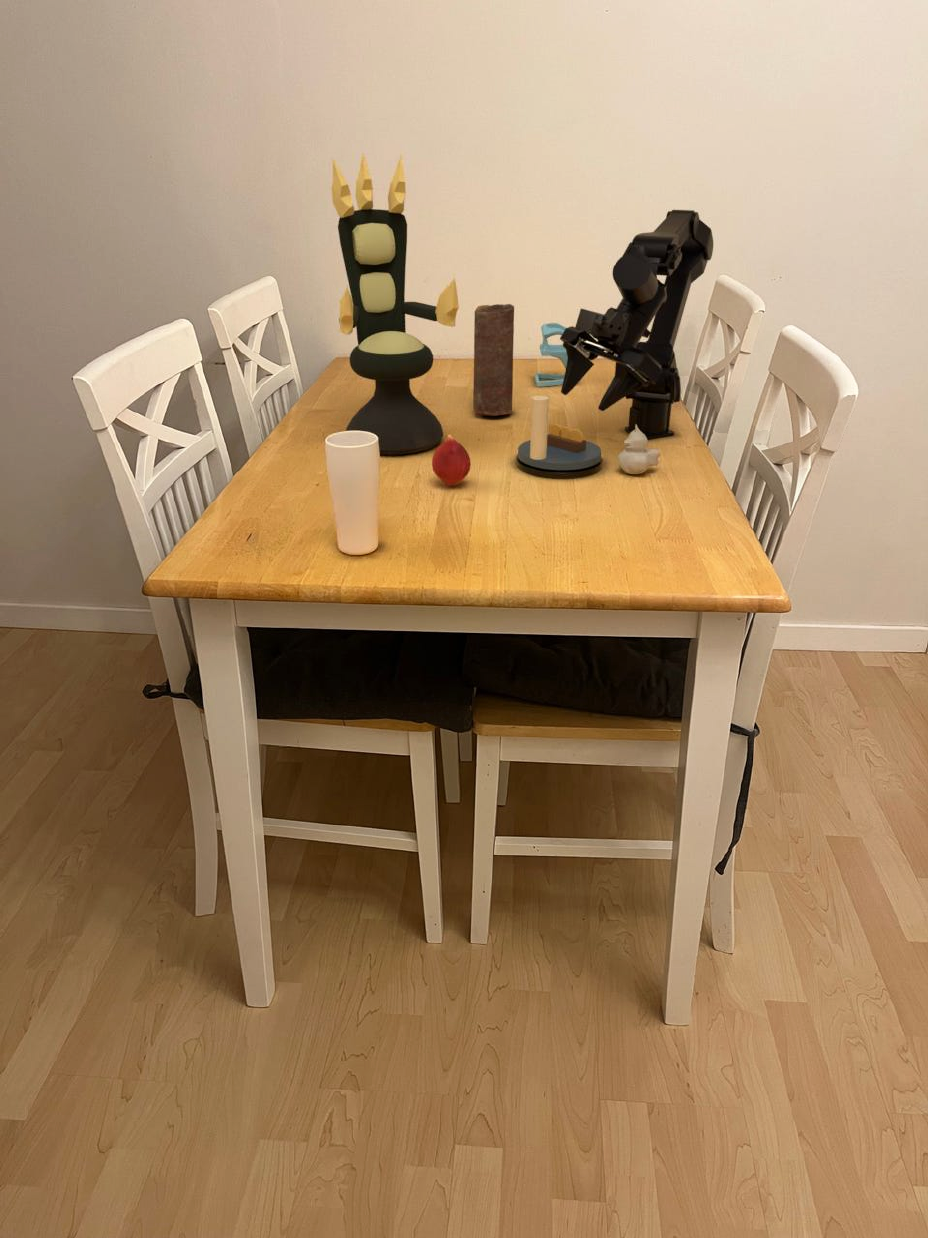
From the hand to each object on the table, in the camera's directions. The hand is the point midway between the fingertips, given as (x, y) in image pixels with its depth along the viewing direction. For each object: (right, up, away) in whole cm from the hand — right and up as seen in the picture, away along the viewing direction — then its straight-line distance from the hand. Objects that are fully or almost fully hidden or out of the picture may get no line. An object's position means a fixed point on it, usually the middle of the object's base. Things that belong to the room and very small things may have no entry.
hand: (581, 401), depth 152 cm
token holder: (-3, -8, +4) cm, 9 cm away
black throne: (-32, -3, +16) cm, 36 cm away
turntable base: (-3, -9, +4) cm, 11 cm away
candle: (-13, +4, +29) cm, 32 cm away
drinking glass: (-33, -25, -25) cm, 48 cm away
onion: (-21, -14, -5) cm, 25 cm away
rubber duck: (+9, -11, +1) cm, 14 cm away
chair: (+1, +15, +50) cm, 53 cm away
